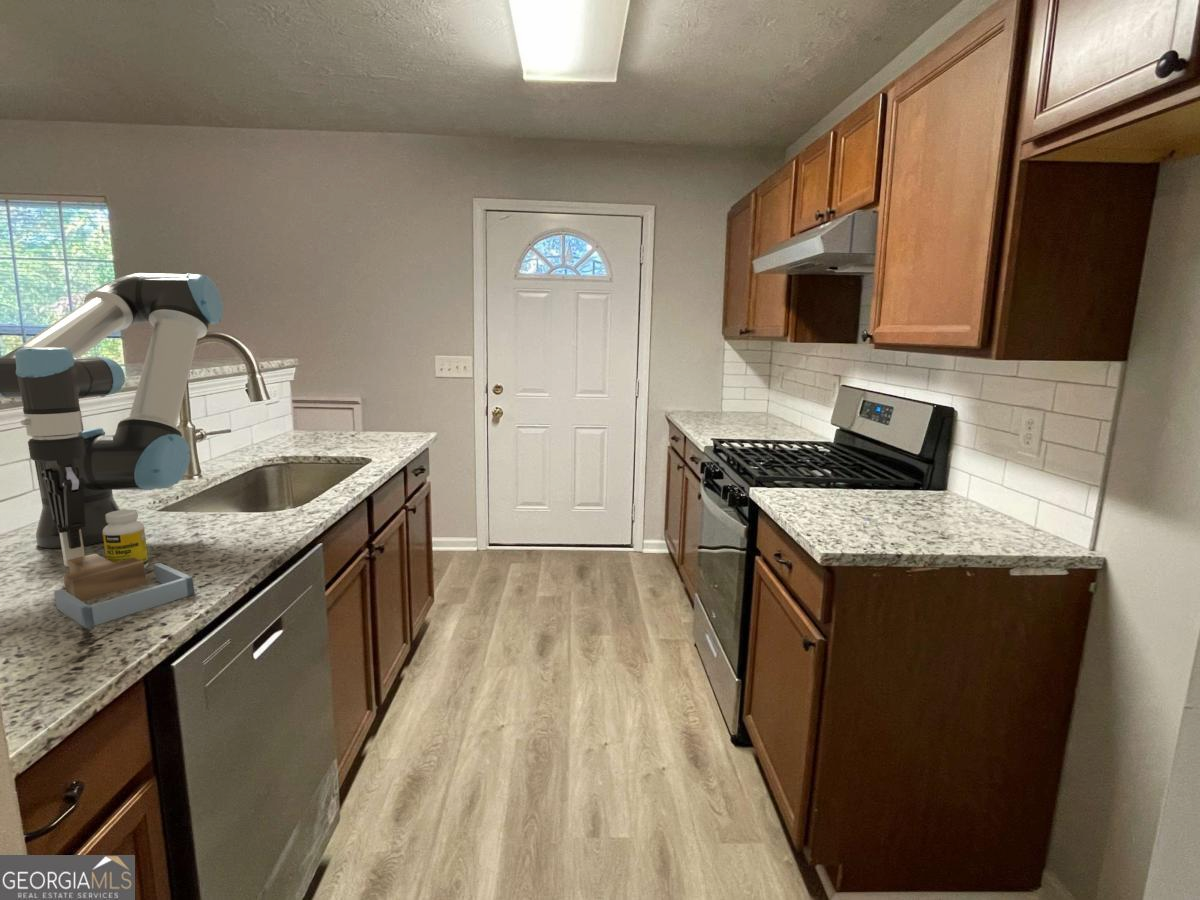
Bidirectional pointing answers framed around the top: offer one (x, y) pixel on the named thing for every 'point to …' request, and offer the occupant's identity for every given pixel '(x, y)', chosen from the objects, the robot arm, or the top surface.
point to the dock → (127, 599)
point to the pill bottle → (124, 537)
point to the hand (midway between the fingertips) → (75, 563)
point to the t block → (102, 576)
